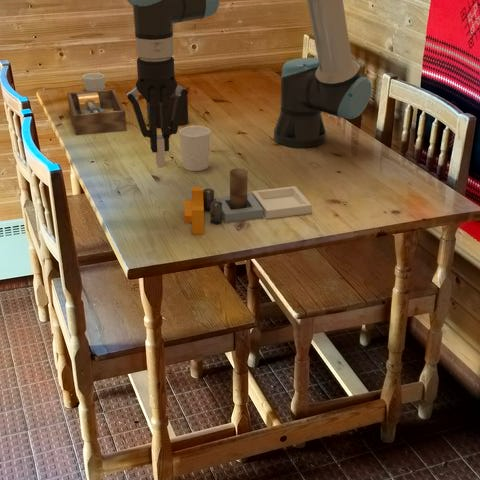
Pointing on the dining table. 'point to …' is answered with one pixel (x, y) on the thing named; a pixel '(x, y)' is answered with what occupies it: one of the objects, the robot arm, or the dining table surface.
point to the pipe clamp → (195, 211)
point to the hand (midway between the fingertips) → (160, 165)
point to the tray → (282, 202)
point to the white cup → (195, 147)
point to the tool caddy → (98, 114)
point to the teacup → (94, 81)
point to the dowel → (238, 188)
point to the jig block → (240, 210)
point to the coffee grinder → (170, 109)
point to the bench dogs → (212, 206)
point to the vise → (88, 103)
